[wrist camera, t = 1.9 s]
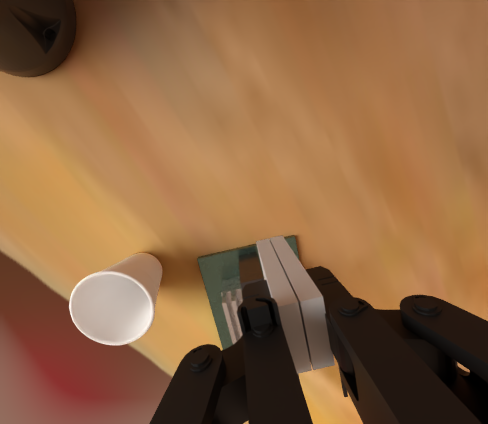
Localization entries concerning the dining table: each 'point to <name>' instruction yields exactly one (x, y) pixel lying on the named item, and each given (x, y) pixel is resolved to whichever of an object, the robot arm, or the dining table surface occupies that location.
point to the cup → (118, 300)
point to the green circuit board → (232, 285)
